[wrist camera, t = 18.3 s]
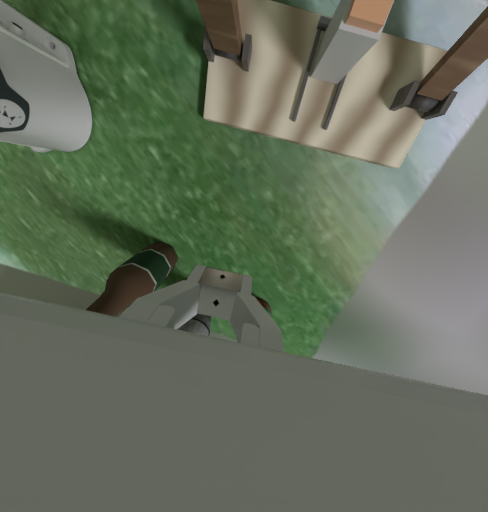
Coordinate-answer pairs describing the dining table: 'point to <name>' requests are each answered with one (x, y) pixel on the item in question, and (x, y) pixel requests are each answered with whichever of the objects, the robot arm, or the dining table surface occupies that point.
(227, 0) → the brown lever
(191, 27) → the dining table surface
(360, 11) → the slider
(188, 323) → the beverage cup
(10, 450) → the robot arm
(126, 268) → the beer bottle
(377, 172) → the dining table surface
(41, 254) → the dining table surface
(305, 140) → the panel
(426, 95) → the wooden stick
